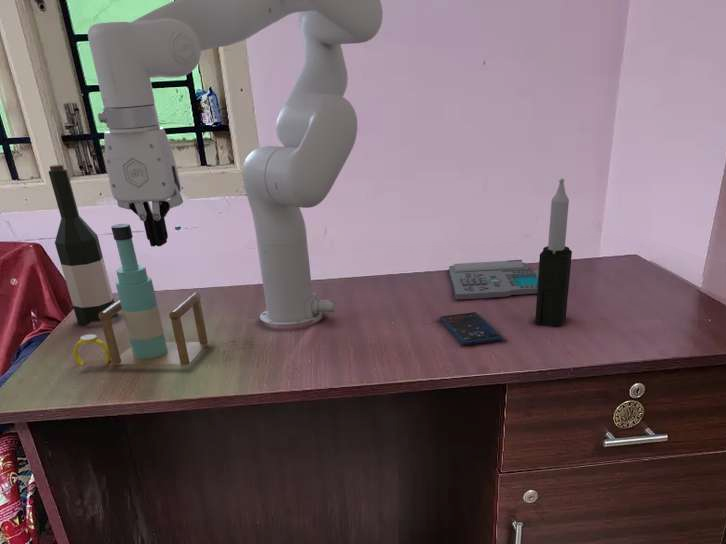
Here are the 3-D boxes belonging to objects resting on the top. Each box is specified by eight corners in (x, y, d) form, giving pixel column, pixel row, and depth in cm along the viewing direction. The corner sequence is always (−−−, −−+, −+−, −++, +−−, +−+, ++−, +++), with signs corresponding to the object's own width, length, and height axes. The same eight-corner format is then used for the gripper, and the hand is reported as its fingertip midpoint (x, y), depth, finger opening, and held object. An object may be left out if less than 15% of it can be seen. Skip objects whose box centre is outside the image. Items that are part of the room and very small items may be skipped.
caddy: (210, 347, 133) (200, 291, 128) (189, 370, 124) (177, 311, 119) (137, 347, 136) (124, 292, 130) (111, 370, 126) (95, 312, 121)
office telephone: (448, 259, 167) (534, 255, 166) (448, 271, 168) (533, 266, 167) (456, 287, 147) (553, 282, 146) (456, 300, 149) (552, 295, 148)
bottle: (208, 325, 128) (131, 214, 119) (196, 337, 123) (115, 222, 114) (151, 358, 134) (73, 254, 125) (137, 371, 129) (55, 263, 120)
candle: (566, 318, 136) (580, 176, 122) (560, 327, 132) (573, 181, 119) (540, 316, 138) (550, 175, 124) (533, 324, 134) (543, 180, 121)
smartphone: (475, 311, 139) (503, 336, 127) (475, 315, 140) (503, 341, 127) (438, 316, 138) (462, 342, 126) (438, 320, 139) (462, 346, 126)
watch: (77, 373, 126) (67, 340, 123) (81, 367, 129) (72, 335, 125) (111, 370, 126) (102, 338, 123) (115, 364, 129) (106, 332, 125)
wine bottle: (106, 327, 146) (63, 168, 130) (70, 327, 148) (23, 169, 132) (126, 314, 153) (87, 161, 137) (91, 314, 155) (49, 162, 139)
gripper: (75, 124, 107) (106, 251, 116) (169, 120, 104) (193, 249, 114) (98, 119, 113) (126, 240, 123) (188, 115, 110) (209, 238, 120)
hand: (159, 244), depth 118 cm, fingers closed
